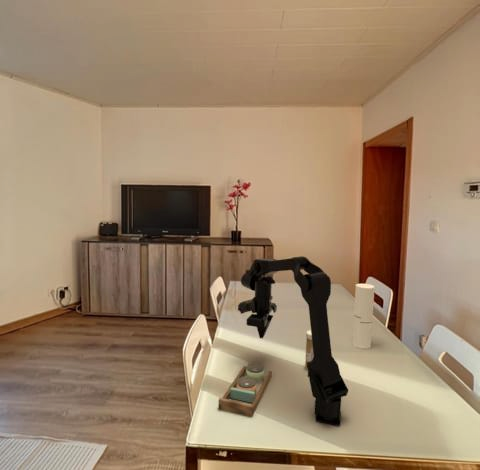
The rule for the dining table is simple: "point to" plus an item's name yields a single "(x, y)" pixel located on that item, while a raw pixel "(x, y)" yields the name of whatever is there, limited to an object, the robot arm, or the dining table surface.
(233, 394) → the pusher
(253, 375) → the green jar
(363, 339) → the cylindrical container
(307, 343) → the sprinkles bottle
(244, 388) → the terracotta jar
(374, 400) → the dining table surface
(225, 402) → the lane
